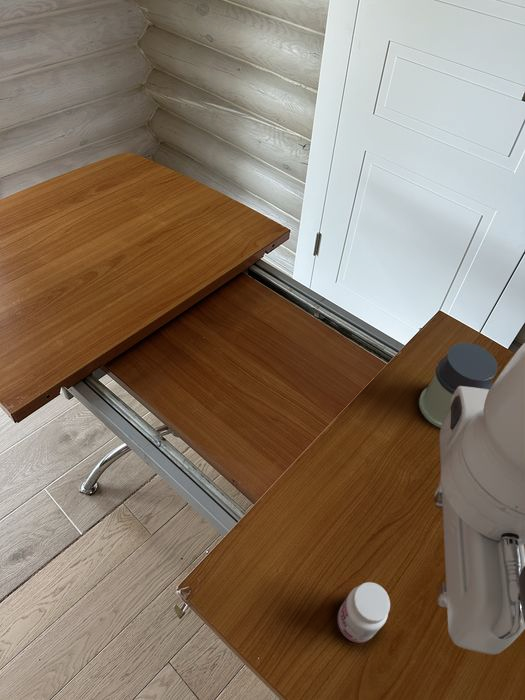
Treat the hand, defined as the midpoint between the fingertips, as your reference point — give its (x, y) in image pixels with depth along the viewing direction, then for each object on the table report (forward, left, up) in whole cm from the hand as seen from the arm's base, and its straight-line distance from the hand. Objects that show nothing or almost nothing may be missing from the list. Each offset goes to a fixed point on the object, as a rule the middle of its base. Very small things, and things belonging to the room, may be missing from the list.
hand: (444, 548), depth 49 cm
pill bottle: (+1, +5, -20) cm, 20 cm away
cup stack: (+19, -29, -19) cm, 39 cm away
